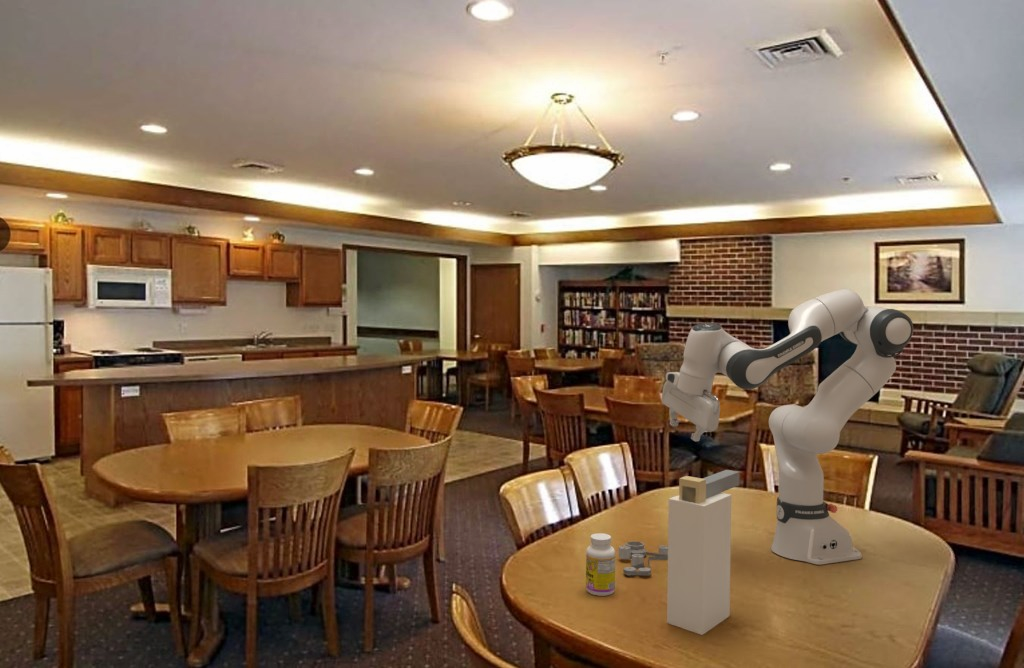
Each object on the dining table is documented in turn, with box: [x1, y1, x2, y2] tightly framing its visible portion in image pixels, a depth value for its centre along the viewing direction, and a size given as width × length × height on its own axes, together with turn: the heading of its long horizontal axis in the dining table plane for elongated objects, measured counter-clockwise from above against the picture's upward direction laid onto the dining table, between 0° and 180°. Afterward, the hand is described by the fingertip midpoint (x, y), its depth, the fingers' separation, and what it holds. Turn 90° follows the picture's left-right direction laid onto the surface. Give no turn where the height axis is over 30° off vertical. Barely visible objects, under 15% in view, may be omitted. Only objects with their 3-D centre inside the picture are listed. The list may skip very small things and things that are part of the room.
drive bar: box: [678, 469, 740, 504], centre depth 151 cm, size 20×4×4 cm, turn 137°
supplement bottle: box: [585, 532, 616, 597], centre depth 163 cm, size 7×7×13 cm
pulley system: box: [618, 540, 668, 577], centre depth 183 cm, size 27×5×15 cm
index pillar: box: [666, 492, 732, 636], centre depth 148 cm, size 12×8×26 cm, turn 137°
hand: (684, 432), depth 188 cm, fingers open, 8 cm apart
